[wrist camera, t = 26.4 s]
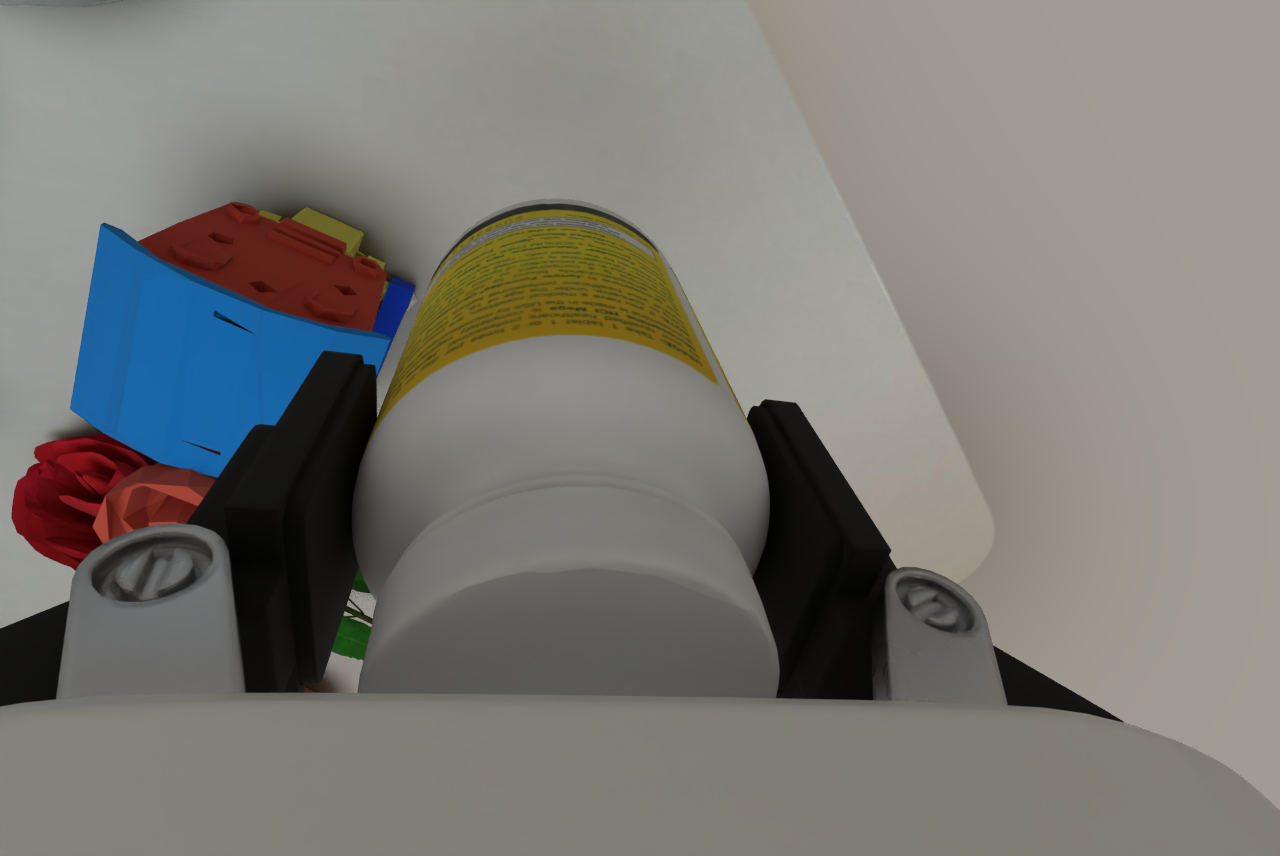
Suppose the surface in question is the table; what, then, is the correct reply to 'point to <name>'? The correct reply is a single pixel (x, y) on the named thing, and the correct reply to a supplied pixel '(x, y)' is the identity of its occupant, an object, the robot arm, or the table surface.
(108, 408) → the toy train
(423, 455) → the pill bottle
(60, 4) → the pot
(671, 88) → the table surface
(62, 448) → the flower
